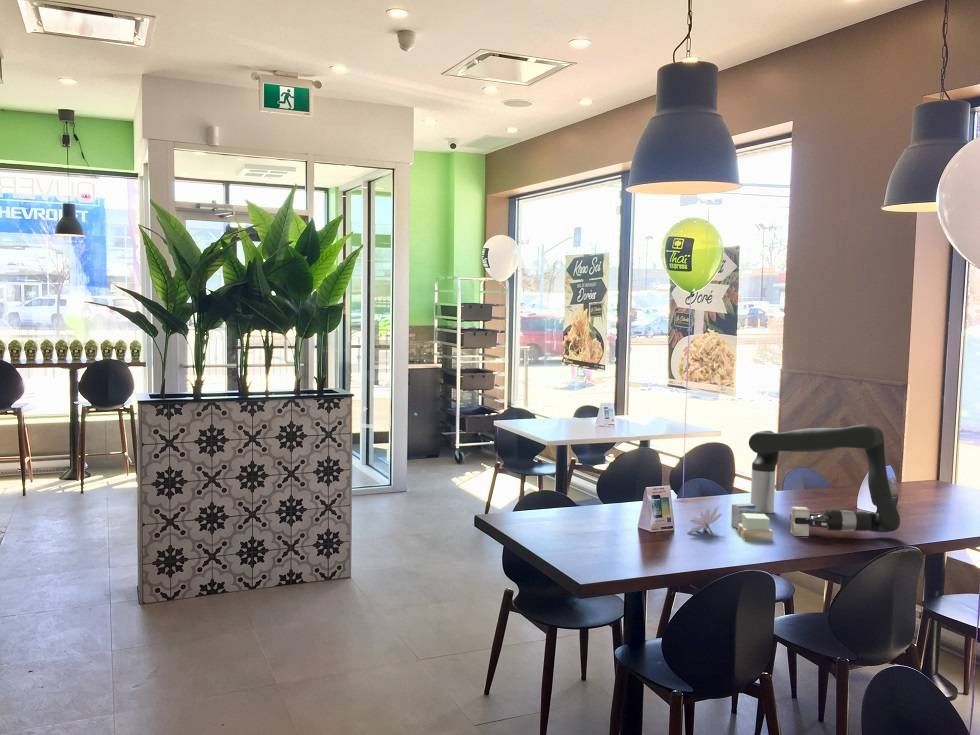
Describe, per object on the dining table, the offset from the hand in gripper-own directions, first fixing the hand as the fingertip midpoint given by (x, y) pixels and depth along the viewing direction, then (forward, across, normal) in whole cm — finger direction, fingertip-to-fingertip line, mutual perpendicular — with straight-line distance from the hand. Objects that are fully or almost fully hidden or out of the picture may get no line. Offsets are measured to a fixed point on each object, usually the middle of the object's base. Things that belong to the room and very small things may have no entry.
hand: (792, 518), depth 306 cm
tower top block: (+14, +4, +2) cm, 15 cm away
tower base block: (+15, +4, +6) cm, 17 cm away
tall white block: (-3, 0, +6) cm, 7 cm away
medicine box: (+15, -10, +6) cm, 19 cm away
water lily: (+32, +2, +6) cm, 33 cm away
